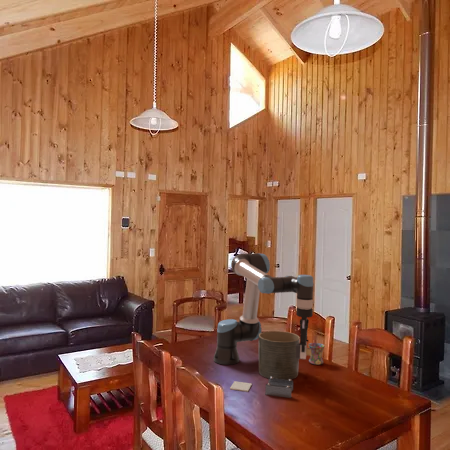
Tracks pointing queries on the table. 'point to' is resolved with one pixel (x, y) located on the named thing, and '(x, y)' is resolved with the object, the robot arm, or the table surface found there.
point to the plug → (308, 351)
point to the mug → (316, 353)
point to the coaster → (241, 386)
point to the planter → (278, 355)
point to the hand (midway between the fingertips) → (303, 356)
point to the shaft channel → (279, 387)
